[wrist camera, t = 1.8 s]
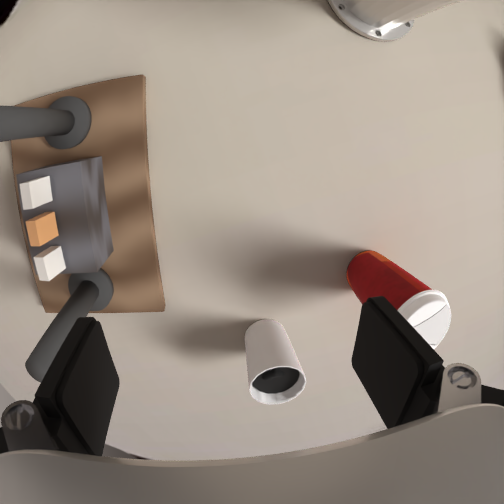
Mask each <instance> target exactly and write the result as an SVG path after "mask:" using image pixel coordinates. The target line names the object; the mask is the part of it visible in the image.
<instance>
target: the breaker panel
mask: <svg viewBox="0 0 504 504" xmlns="http://www.w3.org/2000/svg"><path fill="white" fill-rule="evenodd" d="M65 96H73V97H77V98H80V99H82V100H84V101H85V102H86V103H87V105H88V106H89V108H90V111H91V116H92V122H91V127H90V130H89V133H88V135H87V136H86V138H85V139H84V140H83V141H82V142H81V143H80V144H79V145H77V146H75V147H73V148H69V149H56V148H54V147H52V146H51V145H49V143H48V142H47V141H46V139H45V137H35V138H25V139H17V140H11V149H12V162H13V172H14V180H15V188H16V195H17V202H18V208H19V213H20V219H21V224H22V229H23V234H24V238H25V243H26V247H27V251H28V255H29V259H30V263H31V267H32V271H33V274H34V278H35V281H36V284H37V288H38V291H39V294H40V297H41V300H42V303H43V306H44V309H45V312H46V313H59V312H60V310H61V309H62V307H63V306H64V305H65V303H66V302H67V301H68V299H69V298H70V296H71V295H70V292H69V289H68V281H69V277H70V276H71V274H72V273H93V272H98V271H99V269H100V268H102V269H103V270H104V271H105V272H106V273H107V274H108V275H109V277H110V278H111V280H112V283H113V287H114V293H113V296H112V299H111V301H110V302H109V304H108V305H107V307H106V308H104V309H102V310H100V311H89V313H130V312H163V311H164V309H165V300H164V294H163V287H162V281H161V275H160V268H159V261H158V253H157V246H156V238H155V230H154V221H153V211H152V201H151V190H150V178H149V165H148V149H147V128H146V77H145V76H144V75H136V76H130V77H124V78H118V79H112V80H107V81H102V82H97V83H93V84H88V85H84V86H80V87H75V88H71V89H68V90H64V91H60V92H56V93H53V94H49V95H46V96H43V97H39V98H36V99H33V100H30V101H27V102H24V103H21V104H18V105H15V106H18V107H35V108H49V107H50V105H51V104H52V103H53V102H54V101H56V100H57V99H59V98H61V97H65ZM46 176H50V184H51V192H52V199H53V201H50V202H48V203H45V204H43V205H41V206H38V207H36V208H34V209H27V210H23V204H22V198H21V191H20V184H21V183H24V182H27V181H30V180H33V179H37V178H40V177H46ZM45 212H55V218H56V224H57V229H58V234H59V236H57V237H55V238H53V239H52V240H50V241H48V242H47V243H45V244H43V245H42V246H31V245H30V241H29V236H28V231H27V226H26V221H28V220H30V219H32V218H34V217H36V216H38V215H40V214H42V213H45ZM50 246H61V249H62V253H63V258H64V262H65V266H66V269H64V270H63V271H62V272H60V273H59V274H58V275H57V276H55V277H54V278H53V279H51V280H50V281H41V280H39V276H38V273H37V269H36V265H35V261H34V257H35V256H36V255H38V254H39V253H41V252H42V251H44V250H46V249H47V248H49V247H50Z"/></svg>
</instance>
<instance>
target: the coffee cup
mask: <svg viewBox="0 0 504 504" xmlns="http://www.w3.org/2000/svg"><path fill="white" fill-rule="evenodd" d="M347 280H348V283H349V285H350V286H351V288H352V290H353V291H354V293H355V294H356V296H357V297H358V299H359V300H360V302H361V303H362V305H363V303H364V302H366V300H367V299H368V298H370V297H377V296H384V297H385V298H386V299H387V300H388V301H389V302H390V303H391V304H392V305H393V306H394V307H395V308H396V310H397V311H398V312H399V313H400V314H401V315H402V316H403V317H404V318H405V319H406V320H407V321H408V322H409V323H410V324H411V325H412V326H413V328H414V329H415V330H416V331H417V332H418V333H419V334H420V335H421V336H422V337H423V338H424V339H425V341H426V342H427V343H428V344H429V345H430V346H431V347H432V348H433V349H435V348H436V347H437V345H438V344H439V343H440V342H441V341H442V339H443V338H444V336H445V335H446V333H447V331H448V329H449V326H450V322H451V310H450V307H449V303H448V301H447V298H446V297H445V295H444V294H443V293H442V292H440V291H438V290H432V289H431V288H429V287H428V286H426V285H425V284H424V283H422V282H421V281H419V280H418V279H417V278H415V277H414V276H412V275H411V274H409V273H408V272H407V271H405V270H404V269H402V268H401V267H399V266H398V265H396V264H395V263H393V262H392V261H390V260H389V259H387V258H386V257H384V256H382V255H381V254H379V253H377V252H375V251H364V252H361V253H359V254H358V255H356V256H355V257H354V258H353V259H352V261H351V262H350V264H349V266H348V268H347Z"/></svg>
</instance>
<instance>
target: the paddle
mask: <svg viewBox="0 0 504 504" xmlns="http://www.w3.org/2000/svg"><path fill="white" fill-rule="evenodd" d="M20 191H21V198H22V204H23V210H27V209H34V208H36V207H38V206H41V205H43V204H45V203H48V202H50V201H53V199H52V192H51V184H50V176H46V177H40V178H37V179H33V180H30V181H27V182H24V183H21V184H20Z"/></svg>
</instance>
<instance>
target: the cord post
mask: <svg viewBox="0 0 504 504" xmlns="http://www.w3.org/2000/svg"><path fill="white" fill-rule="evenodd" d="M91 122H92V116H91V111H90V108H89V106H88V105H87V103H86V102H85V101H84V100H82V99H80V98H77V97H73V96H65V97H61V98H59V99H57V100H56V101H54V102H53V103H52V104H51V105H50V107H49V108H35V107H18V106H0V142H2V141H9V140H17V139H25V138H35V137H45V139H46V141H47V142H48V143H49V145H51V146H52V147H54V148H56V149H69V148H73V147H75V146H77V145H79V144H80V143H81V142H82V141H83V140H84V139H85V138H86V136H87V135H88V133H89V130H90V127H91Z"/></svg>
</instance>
